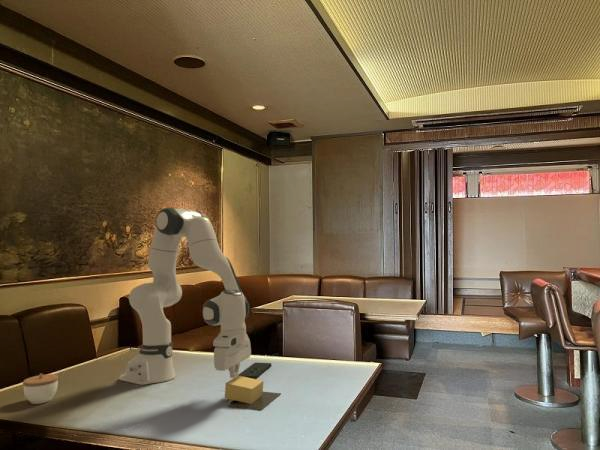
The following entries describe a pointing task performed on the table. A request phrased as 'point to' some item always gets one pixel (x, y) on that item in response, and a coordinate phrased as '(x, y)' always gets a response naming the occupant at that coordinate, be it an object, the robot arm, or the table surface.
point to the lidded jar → (40, 388)
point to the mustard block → (244, 389)
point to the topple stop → (255, 402)
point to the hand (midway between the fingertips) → (234, 376)
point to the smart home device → (255, 370)
